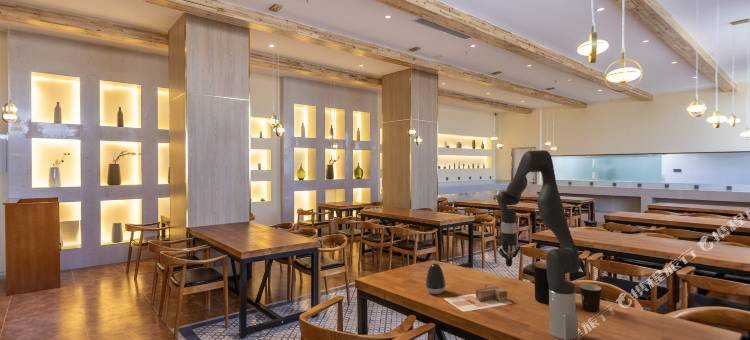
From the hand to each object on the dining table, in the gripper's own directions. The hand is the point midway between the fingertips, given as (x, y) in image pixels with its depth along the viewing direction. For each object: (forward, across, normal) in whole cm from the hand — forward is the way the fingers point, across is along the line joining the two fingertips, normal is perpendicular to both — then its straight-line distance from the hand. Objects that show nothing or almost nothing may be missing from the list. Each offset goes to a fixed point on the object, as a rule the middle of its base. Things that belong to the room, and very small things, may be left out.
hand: (508, 266), depth 193 cm
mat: (+15, -18, 0) cm, 24 cm away
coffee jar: (+15, +12, -12) cm, 23 cm away
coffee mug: (+15, +24, -26) cm, 39 cm away
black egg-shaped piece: (+16, -31, +19) cm, 39 cm away
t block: (+15, -12, 0) cm, 19 cm away
